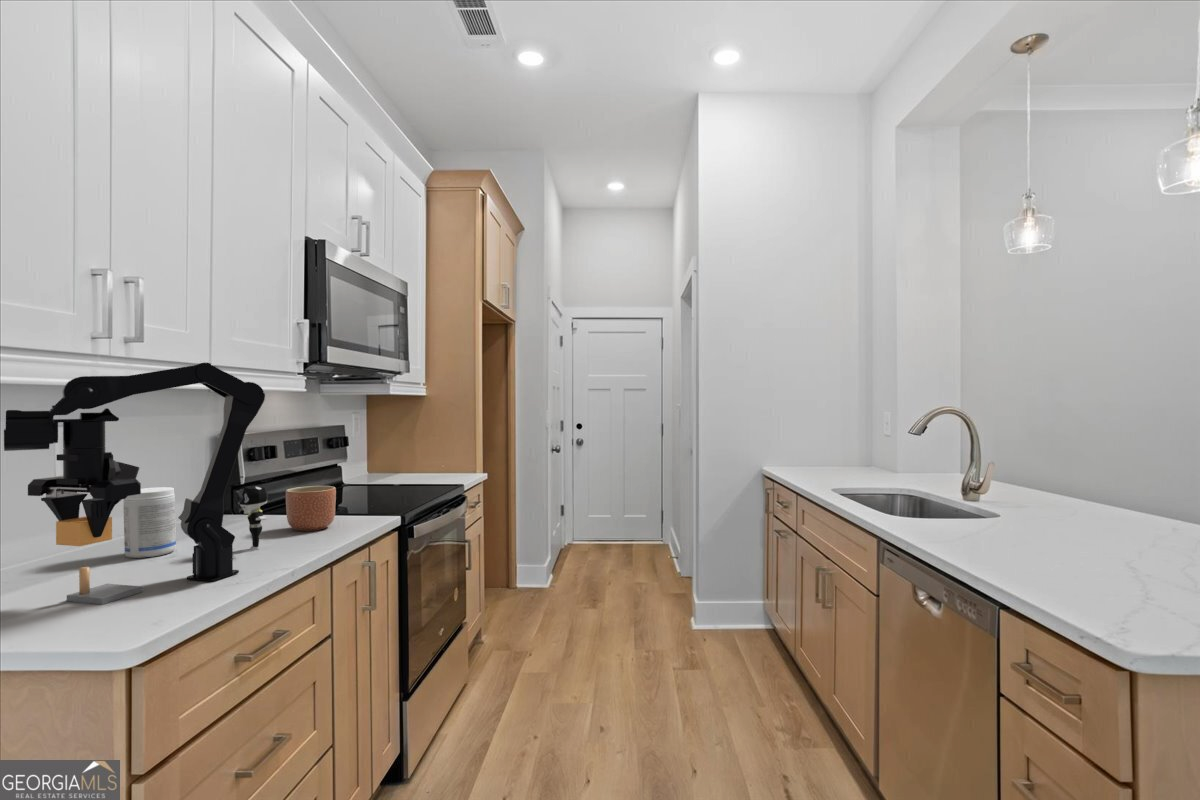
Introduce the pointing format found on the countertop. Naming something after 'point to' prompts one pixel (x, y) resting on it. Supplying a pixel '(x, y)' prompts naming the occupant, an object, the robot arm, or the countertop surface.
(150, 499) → the supplement tub
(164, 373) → the robot arm
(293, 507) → the planter
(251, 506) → the toy
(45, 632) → the countertop surface
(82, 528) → the open tan tray box
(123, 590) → the grey base with peg
